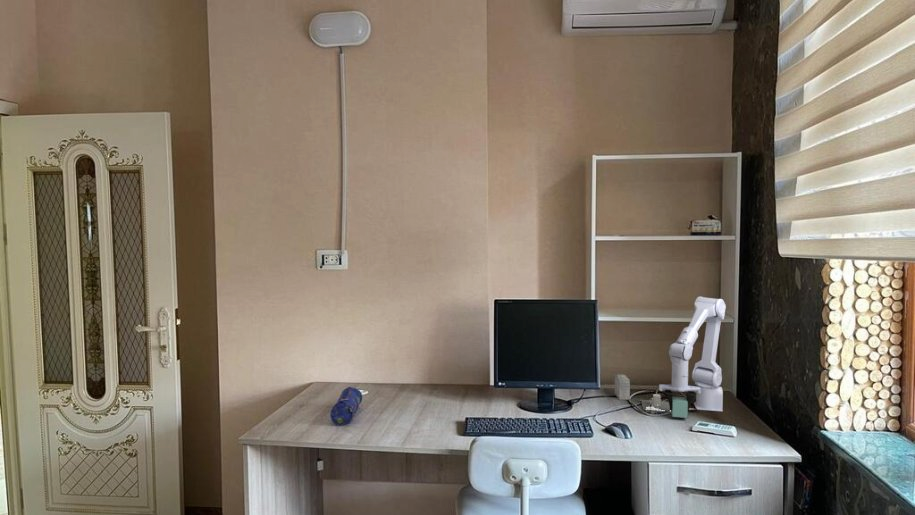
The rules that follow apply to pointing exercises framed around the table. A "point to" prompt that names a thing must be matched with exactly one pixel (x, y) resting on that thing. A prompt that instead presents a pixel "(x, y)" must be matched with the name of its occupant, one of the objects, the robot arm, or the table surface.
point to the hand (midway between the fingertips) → (679, 410)
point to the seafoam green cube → (679, 407)
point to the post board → (663, 405)
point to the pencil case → (346, 406)
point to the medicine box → (622, 387)
